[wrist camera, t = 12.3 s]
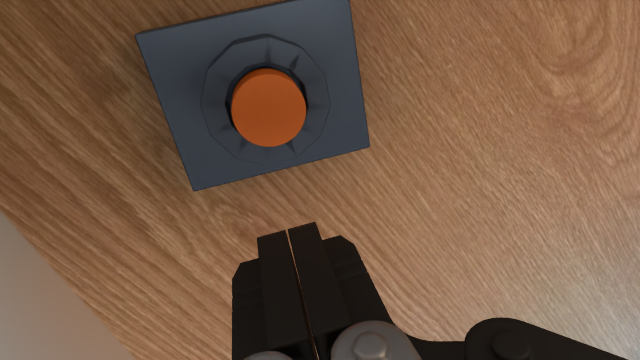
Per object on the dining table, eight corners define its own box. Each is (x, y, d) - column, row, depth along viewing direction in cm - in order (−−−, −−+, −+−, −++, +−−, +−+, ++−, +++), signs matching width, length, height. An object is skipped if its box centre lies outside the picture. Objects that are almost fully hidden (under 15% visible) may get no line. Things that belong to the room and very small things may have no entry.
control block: (196, 177, 26) (190, 206, 22) (142, 30, 22) (124, 37, 18) (360, 136, 26) (380, 158, 23) (338, -12, 22) (357, -13, 19)
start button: (242, 143, 21) (243, 154, 20) (222, 76, 20) (221, 84, 18) (307, 127, 22) (312, 137, 20) (292, 60, 20) (297, 66, 19)
